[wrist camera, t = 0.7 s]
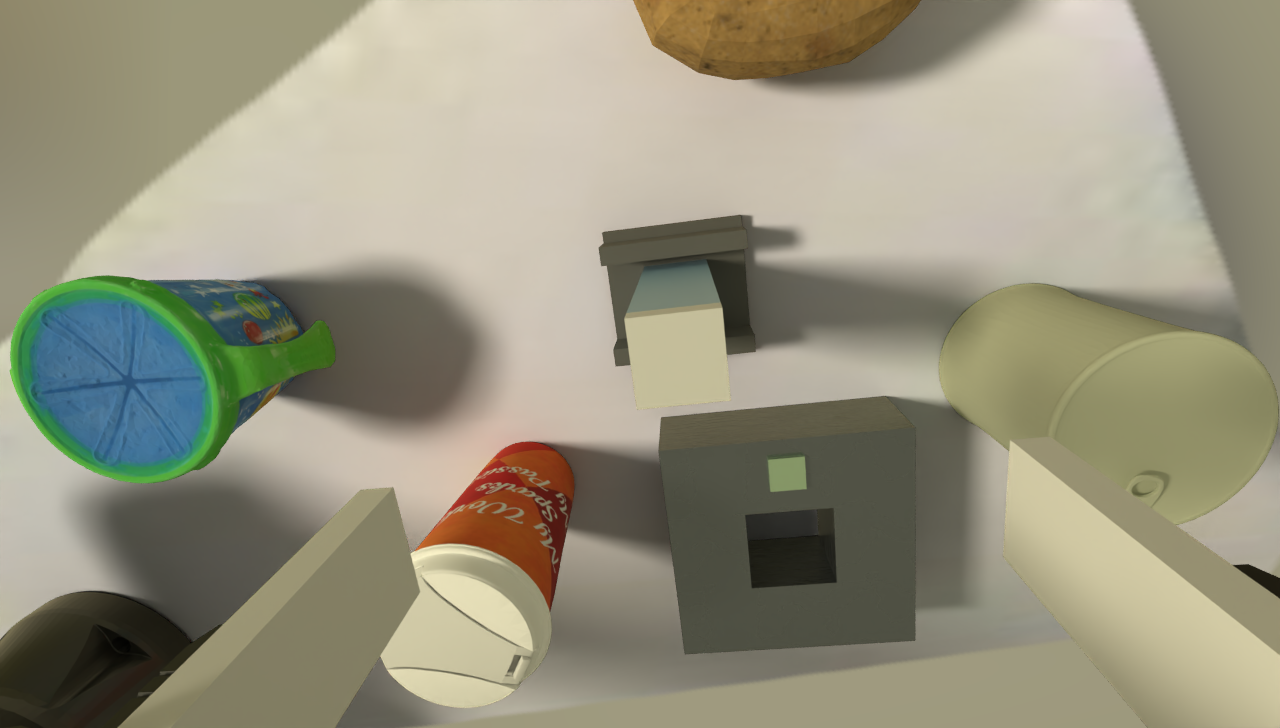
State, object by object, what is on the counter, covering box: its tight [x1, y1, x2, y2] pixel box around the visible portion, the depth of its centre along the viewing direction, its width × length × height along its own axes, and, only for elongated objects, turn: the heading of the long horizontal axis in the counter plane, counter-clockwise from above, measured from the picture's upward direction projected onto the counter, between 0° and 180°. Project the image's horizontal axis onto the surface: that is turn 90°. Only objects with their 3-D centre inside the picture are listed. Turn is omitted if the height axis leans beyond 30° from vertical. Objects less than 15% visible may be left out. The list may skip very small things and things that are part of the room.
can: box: [939, 284, 1279, 525], centre depth 31 cm, size 9×9×12 cm
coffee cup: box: [380, 442, 574, 708], centre depth 34 cm, size 8×8×15 cm
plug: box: [624, 259, 731, 410], centre depth 30 cm, size 4×4×14 cm
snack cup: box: [10, 276, 335, 483], centre depth 35 cm, size 16×10×10 cm
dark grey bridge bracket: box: [599, 215, 756, 366], centre depth 35 cm, size 8×8×3 cm
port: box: [659, 396, 915, 654], centre depth 38 cm, size 14×14×5 cm
